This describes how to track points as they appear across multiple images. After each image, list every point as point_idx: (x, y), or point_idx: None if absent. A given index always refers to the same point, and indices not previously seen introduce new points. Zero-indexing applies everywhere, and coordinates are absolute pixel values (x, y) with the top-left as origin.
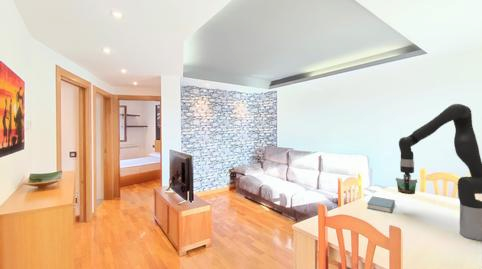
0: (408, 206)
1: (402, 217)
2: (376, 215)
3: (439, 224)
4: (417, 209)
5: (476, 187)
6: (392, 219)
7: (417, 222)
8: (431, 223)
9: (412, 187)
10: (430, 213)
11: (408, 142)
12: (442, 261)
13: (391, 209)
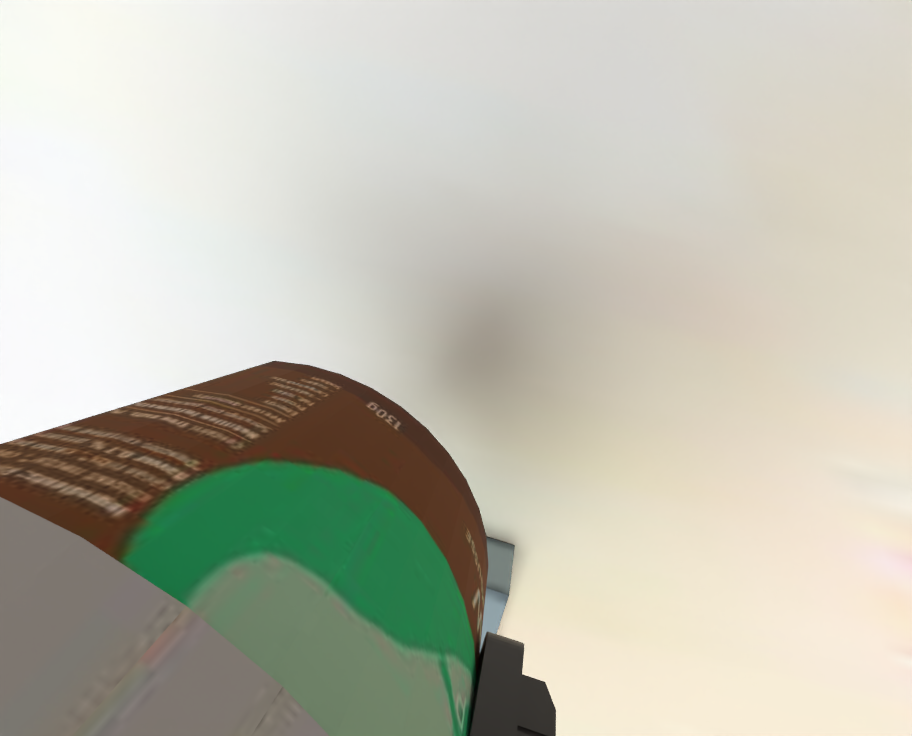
0: (132, 283)
1: (615, 458)
2: (656, 712)
3: (727, 47)
4: (199, 195)
5: None
6: (735, 584)
7: (745, 326)
8: (722, 151)
9: (416, 603)
10: (288, 55)
11: None
12: None
13: (509, 578)
